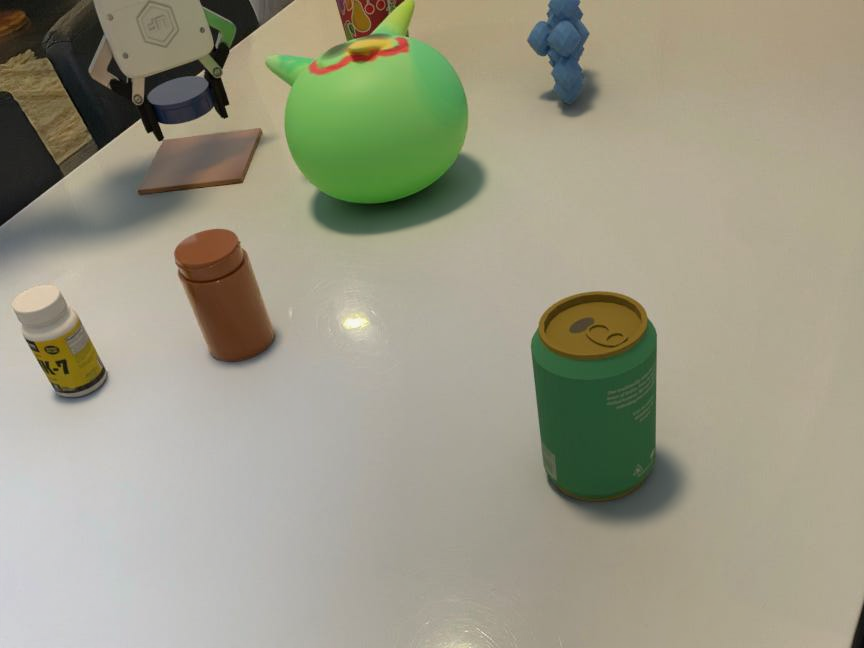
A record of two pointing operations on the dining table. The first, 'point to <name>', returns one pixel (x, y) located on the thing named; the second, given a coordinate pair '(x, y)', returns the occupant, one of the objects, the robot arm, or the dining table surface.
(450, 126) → the toy bird
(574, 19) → the grapes
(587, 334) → the beverage can
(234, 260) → the jar
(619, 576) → the dining table surface
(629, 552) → the dining table surface
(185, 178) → the coaster
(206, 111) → the lid
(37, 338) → the supplement bottle
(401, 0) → the smoothie
